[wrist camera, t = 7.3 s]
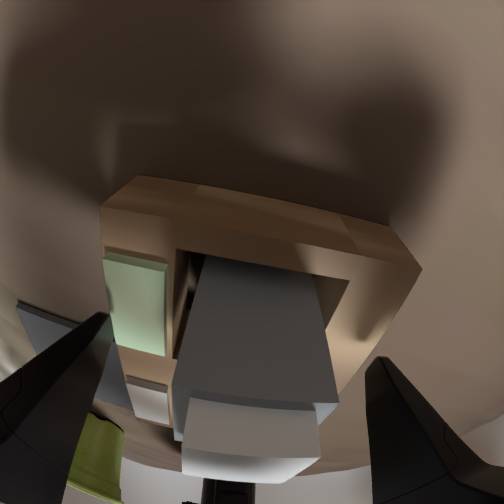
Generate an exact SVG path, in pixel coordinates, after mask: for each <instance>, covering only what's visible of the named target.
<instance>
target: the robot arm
mask: <svg viewBox="0 0 504 504" xmlns="http://www.w3.org/2000/svg"><path fill="white" fill-rule="evenodd" d="M113 336H114V330H113V324H112V319H111V316H110V314H107V313H104V312H97V313H95V314H94V315H93V316H91V317H90V318H88V319H87V320H85V321H84V322H83V323H81V324H80V325H78V326H77V327H75V328H74V329H73V330H71V331H70V332H68V333H67V334H66V335H64V336H63V337H61V338H60V339H59V340H57V341H56V342H55V343H53V344H52V345H50V346H49V347H48V348H46V349H45V350H44V351H42V352H41V353H40V354H38V355H37V356H36V357H34V358H33V359H31V360H30V361H29V362H27V363H26V364H25V365H24V366H23V367H22V368H19V369H18V370H17V371H15V372H14V373H13V374H11V375H10V376H9V377H7V378H6V379H5V380H3V381H2V382H0V504H61V503H62V499H63V495H64V490H65V487H66V483H67V479H68V476H69V475H68V474H69V472H70V468H71V465H72V461H73V458H74V455H75V451H76V448H77V445H78V442H79V439H80V436H81V433H82V430H83V427H84V424H85V421H86V418H87V415H88V412H89V410H90V407H91V404H92V401H93V399H94V396H95V393H96V391H97V388H98V386H99V383H100V381H101V378H102V375H103V371H104V368H105V364H106V360H107V357H108V353H109V350H110V346H111V343H112V340H113ZM365 396H366V418H367V427H368V436H369V447H370V459H371V474H372V494H373V504H504V467H500V466H494V465H490V464H488V463H486V462H484V461H483V460H482V459H481V458H480V457H478V456H477V455H476V454H475V453H474V452H473V451H472V450H471V449H470V448H469V447H468V446H467V445H466V444H465V443H464V442H463V441H462V440H461V439H460V438H459V437H458V436H457V434H456V433H455V432H454V431H453V430H452V429H451V428H450V427H449V425H448V424H447V423H446V422H444V420H443V419H442V417H441V416H440V415H439V414H438V413H437V412H436V410H435V409H434V408H433V407H432V406H431V405H430V404H429V403H428V401H427V400H426V399H425V398H424V397H423V396H422V395H421V393H420V392H419V391H418V390H417V389H416V388H415V387H414V386H413V384H412V383H411V382H410V381H409V380H408V379H407V378H406V377H405V376H404V374H403V373H402V372H401V371H400V370H399V369H398V368H397V367H396V366H395V364H394V363H393V362H392V361H391V360H390V359H389V358H388V357H384V356H378V357H376V358H375V359H374V360H373V362H372V363H371V364H370V366H369V367H368V368H367V370H366V372H365ZM255 484H256V483H252V482H237V481H227V480H218V479H210V478H204V479H203V489H202V498H201V504H255ZM182 504H197V503H192V502H188V501H187V502H182Z"/></svg>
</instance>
